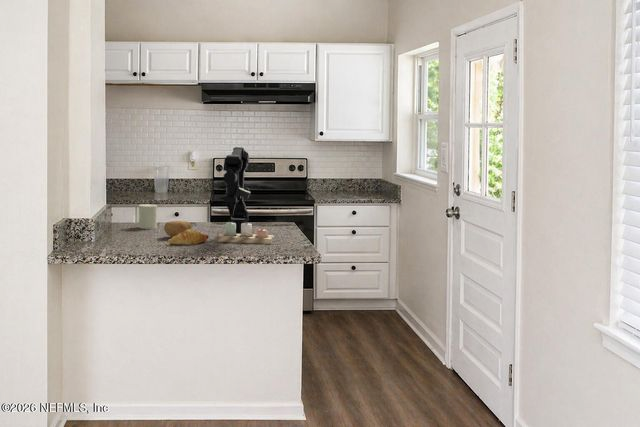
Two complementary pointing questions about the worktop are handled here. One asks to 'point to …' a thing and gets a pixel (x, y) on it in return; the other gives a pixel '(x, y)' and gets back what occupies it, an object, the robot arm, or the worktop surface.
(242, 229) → the key two
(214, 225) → the worktop surface
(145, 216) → the can
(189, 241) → the croissant
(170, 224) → the potato
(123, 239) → the worktop surface
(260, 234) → the key three
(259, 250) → the worktop surface
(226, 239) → the board
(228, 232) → the key one
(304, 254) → the worktop surface
